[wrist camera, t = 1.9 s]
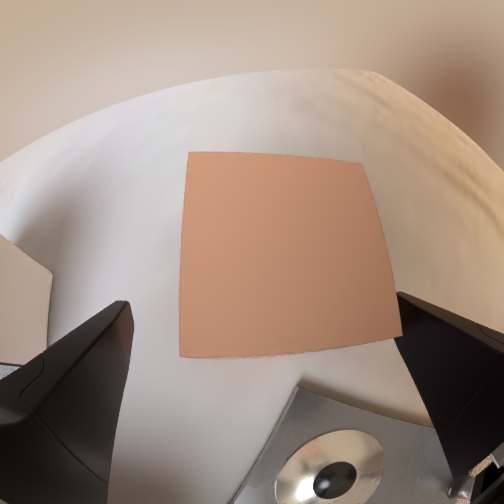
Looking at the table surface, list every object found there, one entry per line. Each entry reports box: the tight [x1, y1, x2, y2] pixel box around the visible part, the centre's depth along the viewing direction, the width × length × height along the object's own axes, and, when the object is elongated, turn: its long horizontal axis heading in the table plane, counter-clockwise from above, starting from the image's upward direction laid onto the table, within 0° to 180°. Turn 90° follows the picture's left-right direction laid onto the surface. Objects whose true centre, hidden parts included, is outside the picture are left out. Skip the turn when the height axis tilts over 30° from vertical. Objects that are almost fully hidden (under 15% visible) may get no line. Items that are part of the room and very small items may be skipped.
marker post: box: [179, 152, 403, 359], centre depth 12 cm, size 5×5×12 cm
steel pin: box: [451, 474, 475, 501], centre depth 9 cm, size 2×2×6 cm
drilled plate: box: [230, 386, 473, 504], centre depth 12 cm, size 11×23×1 cm, turn 64°
